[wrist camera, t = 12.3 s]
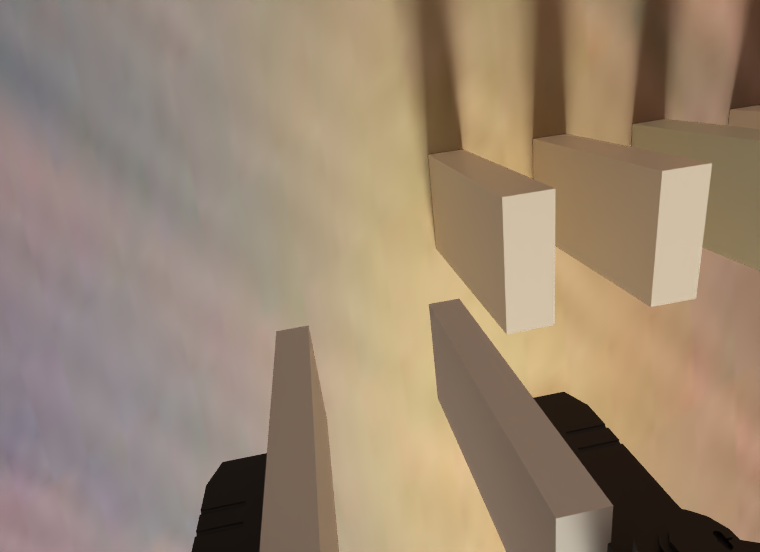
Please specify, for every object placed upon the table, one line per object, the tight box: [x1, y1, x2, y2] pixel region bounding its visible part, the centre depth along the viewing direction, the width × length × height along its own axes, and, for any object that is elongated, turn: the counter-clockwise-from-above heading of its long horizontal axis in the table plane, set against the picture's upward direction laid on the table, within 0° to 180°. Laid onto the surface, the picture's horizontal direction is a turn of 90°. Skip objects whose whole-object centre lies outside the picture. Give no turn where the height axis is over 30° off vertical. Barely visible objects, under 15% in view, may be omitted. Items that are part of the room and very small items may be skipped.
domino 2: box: [533, 134, 712, 307], centre depth 23 cm, size 2×5×10 cm, turn 7°
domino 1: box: [428, 149, 556, 334], centre depth 22 cm, size 2×5×10 cm, turn 7°
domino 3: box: [631, 119, 760, 271], centre depth 23 cm, size 2×5×10 cm, turn 8°
